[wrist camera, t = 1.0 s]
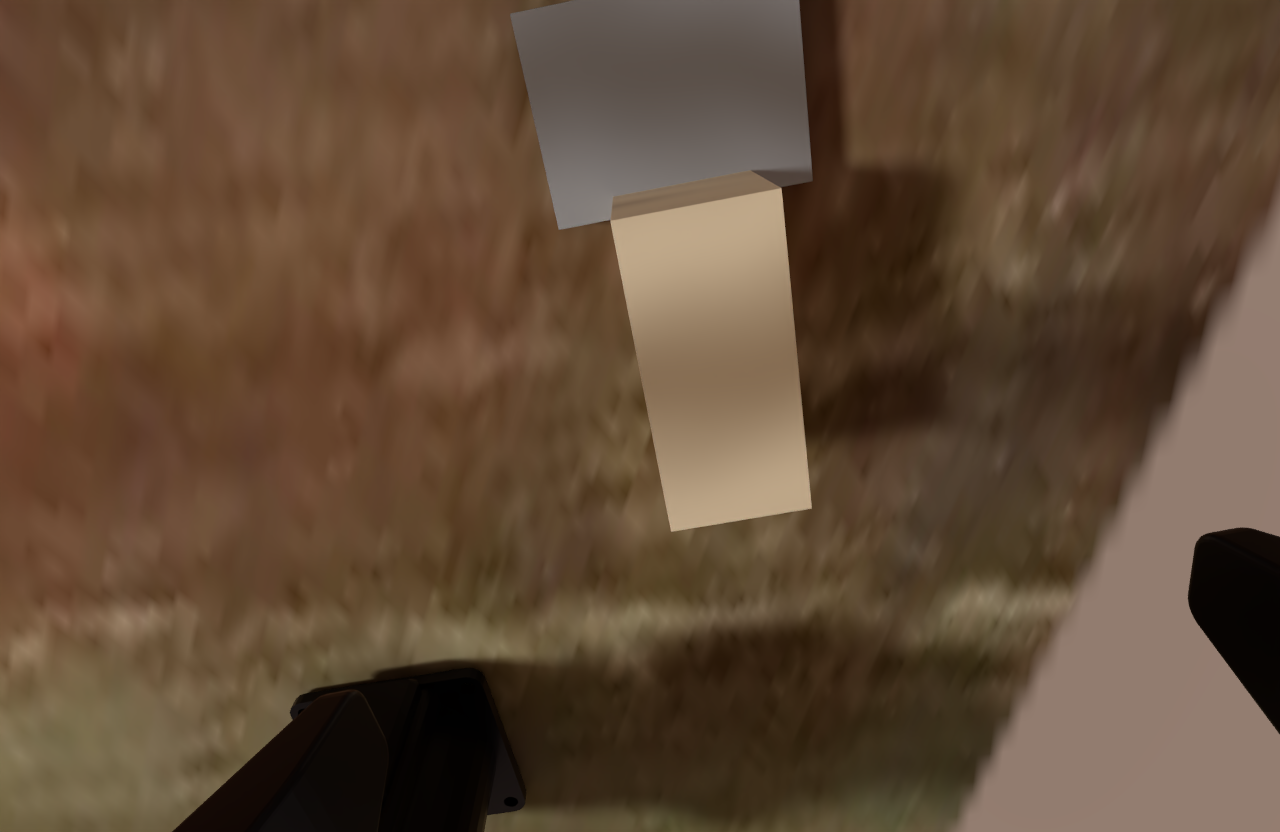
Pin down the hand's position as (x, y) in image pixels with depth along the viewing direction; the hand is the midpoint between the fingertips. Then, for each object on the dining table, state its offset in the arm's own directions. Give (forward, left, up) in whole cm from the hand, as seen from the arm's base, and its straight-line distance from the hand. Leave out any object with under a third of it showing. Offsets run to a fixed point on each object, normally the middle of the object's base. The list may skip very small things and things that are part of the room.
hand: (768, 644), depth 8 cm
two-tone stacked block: (+1, -1, -12) cm, 12 cm away
